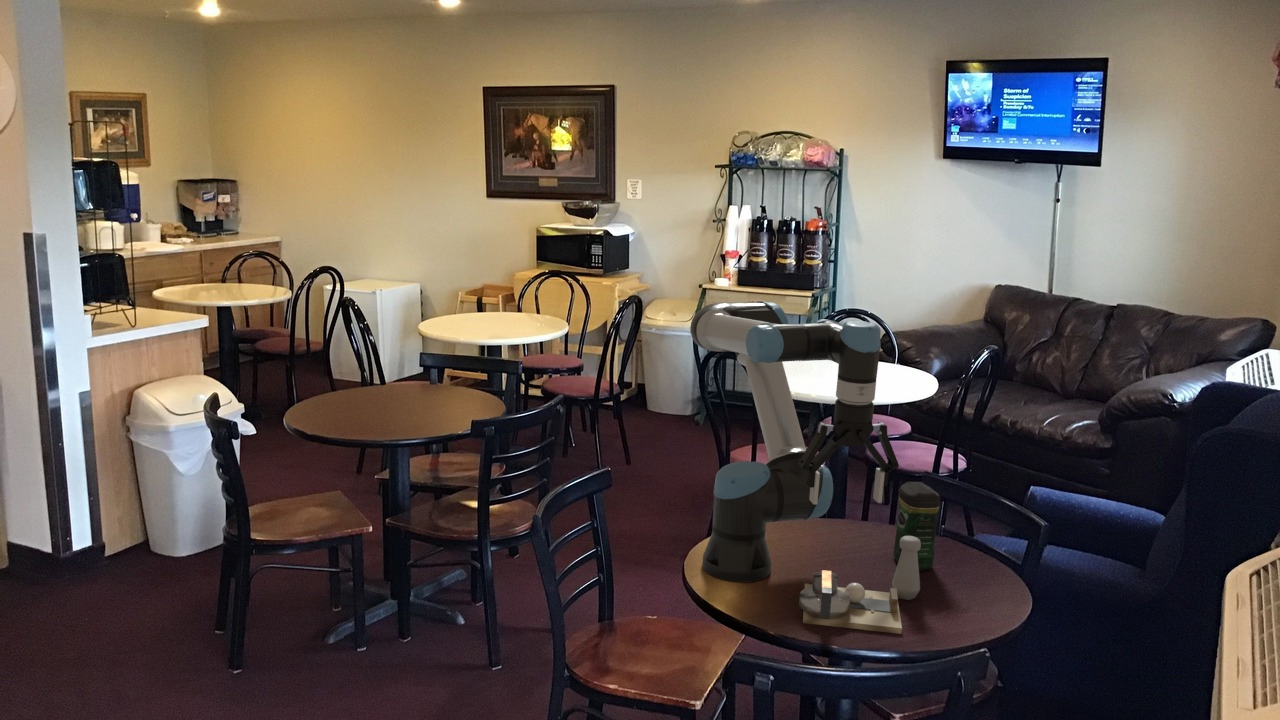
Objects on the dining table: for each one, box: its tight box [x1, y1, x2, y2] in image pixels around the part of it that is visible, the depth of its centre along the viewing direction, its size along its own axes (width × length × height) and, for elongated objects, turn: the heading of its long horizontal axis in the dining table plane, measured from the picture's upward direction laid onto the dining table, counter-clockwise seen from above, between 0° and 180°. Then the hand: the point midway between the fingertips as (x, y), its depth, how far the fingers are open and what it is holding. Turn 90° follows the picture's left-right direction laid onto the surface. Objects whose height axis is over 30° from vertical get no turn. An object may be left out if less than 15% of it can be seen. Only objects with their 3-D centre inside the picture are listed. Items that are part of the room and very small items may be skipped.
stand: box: [802, 583, 903, 635], centre depth 212 cm, size 19×16×4 cm
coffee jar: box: [892, 481, 941, 572], centre depth 235 cm, size 10×8×19 cm
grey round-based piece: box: [798, 569, 850, 620], centre depth 208 cm, size 10×16×7 cm, turn 170°
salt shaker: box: [891, 536, 921, 601], centre depth 219 cm, size 6×6×13 cm
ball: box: [845, 582, 866, 603], centre depth 213 cm, size 4×4×4 cm
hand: (845, 501), depth 211 cm, fingers open, 13 cm apart
